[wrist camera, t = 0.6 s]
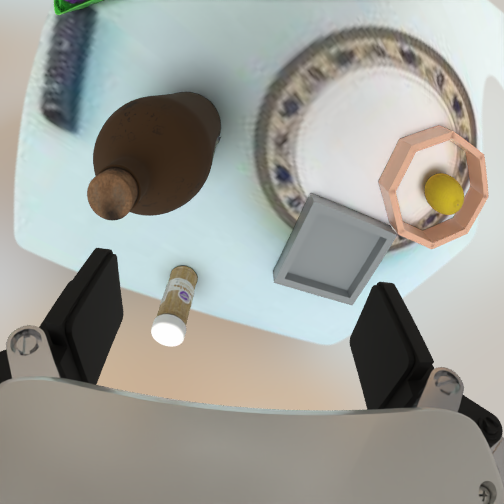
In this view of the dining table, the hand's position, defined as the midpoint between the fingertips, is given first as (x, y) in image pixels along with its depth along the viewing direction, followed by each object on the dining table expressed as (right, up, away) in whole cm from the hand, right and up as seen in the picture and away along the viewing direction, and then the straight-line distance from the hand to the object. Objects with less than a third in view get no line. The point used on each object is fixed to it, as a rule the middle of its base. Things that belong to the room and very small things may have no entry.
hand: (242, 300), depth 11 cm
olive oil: (-8, +18, +28) cm, 35 cm away
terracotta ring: (+27, +12, +32) cm, 44 cm away
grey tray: (+13, +2, +38) cm, 40 cm away
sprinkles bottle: (-11, -2, +41) cm, 42 cm away
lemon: (+27, +12, +32) cm, 44 cm away
